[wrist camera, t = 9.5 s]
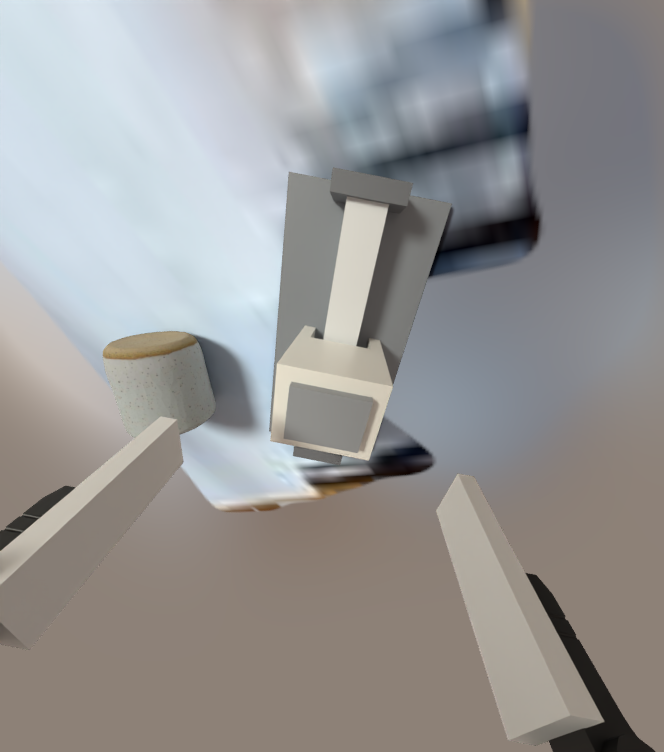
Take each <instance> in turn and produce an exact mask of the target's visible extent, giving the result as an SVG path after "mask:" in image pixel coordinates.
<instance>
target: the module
mask: <svg viewBox="0 0 664 752" xmlns="http://www.w3.org/2000/svg"><path fill="white" fill-rule="evenodd" d="M315 329H316V328H315V327H310V326H304V328H303V329H302V330H301V332H300V333H299V334H298V336H297V337H296V338H295V340H294V341H293V342H292V344H291V345H290V346H289V348H288V349H287V350H286V352H285V353H284V355H283V356H282V357H281V359H280V360H279V361H278V363H277V367H276V380H275V392H274V404H273V416H272V428H271V440H270V441H273V442H278V443H283V444H288V445H293V446H298V447H303V448H308V449H313V450H318V451H323V452H328V453H333V454H338V455H343V456H348V457H354V458H359V459H364V460H369V458H370V455H371V452H372V449H373V446H374V443H375V440H376V437H377V434H378V431H379V428H380V425H381V422H382V419H383V416H384V413H385V410H386V407H387V404H388V401H389V398H390V394H391V392H392V389H393V384H392V381H391V377H390V374H389V370H388V367H387V364H386V360H385V357H384V353H383V350H382V346H381V343H380V340H376V339H371V338H369V340H368V344H367V348H363V347H358V346H353V345H347V344H342V343H337V342H332V341H327V340H322V339H317V338H314V336H315Z"/></svg>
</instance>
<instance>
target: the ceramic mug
mask: <svg viewBox="0 0 664 752" xmlns="http://www.w3.org/2000/svg"><path fill="white" fill-rule="evenodd" d="M103 361H104V367H105V372H106V375H107V378H108V380H109V383H110V385H111V388H112V390H113V393H114V396H115V399H116V402H117V405H118V408H119V411H120V414H121V417H122V421H123V423H124V426H125V429H126V431H127V432H128V434H129V435H131V436H132V437H134V438H136V437H137V436H138V435H139V434H140V433H141V432H143V431H144V430H145V429H146V428H147V427H149V426H150V425H151V424H152V423H153V422H155V421H156V420H157V419H158V418H159V417H161V416H162V417H167V418H172V419H177V422H178V428H179V435H180V434H183V433H185V432H188V431H190V430H192V429H195V428H196V427H198V426H200V425H201V424H203V423H204V422H205V421H207V420H208V419H209V418H210V417H211V416H212V415H213V413H214V412H215V409H216V402H215V399H214V395H213V391H212V387H211V384H210V380H209V376H208V373H207V369H206V365H205V361H204V356H203V353H202V350H201V348H200V345H199V343H198V341H197V340H196V338H195V337H194V336H192V335H191V334H189V333H186V332H178V331H167V332H153V333H145V334H139V335H133V336H129V337H125V338H121V339H119V340H116V341H113V342H111V343H109V344H108V345H107V346H106V348H105V349H104V350H103Z"/></svg>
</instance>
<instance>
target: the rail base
mask: <svg viewBox="0 0 664 752" xmlns="http://www.w3.org/2000/svg"><path fill="white" fill-rule="evenodd" d="M412 185H413V183H410V182H405V181H400V180H395V179H390V178H385V177H379V176H374V175H369V174H364V173H359V172H354V171H349V170H343V169H338V168H333V171H332V178H331V180H328V179H323V178H318V177H313V176H308V175H303V174H298V173H292V172H289V177H288V190H287V203H286V216H285V230H284V243H283V256H282V269H281V282H280V296H279V309H278V322H277V335H276V349H275V362H274V375H273V388H272V401H271V415H270V428H269V431H271V428H272V416H273V404H274V392H275V380H276V367H277V363H278V361H279V360H280V359H281V357H282V356H283V355H284V353H285V352H286V350H287V349H288V348H289V346H290V345H291V344H292V342H293V341H294V340H295V338H296V337H297V336H298V334H299V333H300V332H301V330H302V329H303V328H304V326H310V327H315V328H316V329H315V336H314V338H317V339H322V340H327V341H332V342H337V343H342V344H347V345H353V346H358V347H363V348H367V344H368V340H369V338H371V339H376V340H380V343H381V346H382V350H383V353H384V357H385V360H386V364H387V367H388V370H389V374H390V377H391V381H392V384H393V383H394V380H395V377H396V374H397V371H398V367H399V364H400V362H401V358H402V355H403V352H404V349H405V346H406V343H407V340H408V337H409V334H410V331H411V328H412V325H413V322H414V319H415V315H416V312H417V309H418V306H419V303H420V300H421V297H422V294H423V291H424V288H425V285H426V282H427V279H428V276H429V273H430V270H431V266H432V263H433V260H434V257H435V254H436V251H437V248H438V245H439V242H440V239H441V236H442V233H443V230H444V227H445V223H446V220H447V217H448V214H449V211H450V208H451V205H452V204H451V203H446V202H441V201H436V200H431V199H426V198H421V197H415V196H410V193H411V189H412ZM293 456H296V457H301V458H306V459H311V460H316V461H321V462H327V463H332V464H337V465H340V463H341V459H342V455H338V454H333V453H328V452H323V451H318V450H313V449H308V448H303V447H298V446H294V453H293Z"/></svg>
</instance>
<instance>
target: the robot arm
mask: <svg viewBox="0 0 664 752" xmlns="http://www.w3.org/2000/svg"><path fill="white" fill-rule="evenodd" d="M182 464H183V456H182V449H181V442H180V435H179V428H178V422H177V419H172V418H167V417H162V416H161V417H159V418H158V419H157V420H156V421H155V422H153V423H152V424H151V425H150V426H149V427H147V428H146V429H145V430H144V431H143V432H141V433H140V434H139V435H138V436H137V437H136V438H134V439H133V440H132V441H131V442H130V443H128V444H127V445H126V446H125V447H124V448H122V449H121V450H120V451H119V452H118V453H117V454H115V455H114V456H113V457H112V458H111V459H109V460H108V461H107V462H106V463H105V464H103V465H102V466H101V467H100V468H99V469H98V470H96V471H95V472H94V473H93V474H92V475H90V476H89V477H88V478H87V479H86V480H84V481H83V482H82V483H81V484H80V485H78V486H77V487H76V488H75V487H69V486H64V487H62V488H60V489H59V490H57V491H55V492H53V493H51V494H49V495H47V496H45V497H44V498H42V499H41V500H40V501H38V502H37V503H36V504H35V505H33V506H32V507H31V508H29V509H28V510H27V511H26V512H24V513H23V515H22V516H21V517H18V518H17V519H15V520H14V521H13V522H12V523H10V524H9V525H8V526H7V527H6V529H5V530H1V531H0V644H1V645H5V646H11V647H16V648H22V649H26V650H30V649H31V648H32V647H33V645H34V644H35V643H36V642H37V641H38V639H39V638H40V637H41V636H42V634H43V633H44V632H45V631H46V630H47V628H48V627H49V626H50V625H51V623H52V622H53V621H54V620H55V618H56V617H57V616H58V615H59V613H60V612H61V611H62V610H63V609H64V608H65V606H66V605H67V604H68V603H69V601H70V600H71V599H72V598H73V597H74V595H75V594H76V593H77V592H78V590H79V589H80V588H81V587H82V586H83V584H84V583H85V582H86V581H87V579H88V578H89V577H90V576H91V574H92V573H93V572H94V571H95V570H96V568H97V567H98V566H99V565H100V564H101V562H102V561H103V560H104V558H105V557H106V556H107V555H108V554H109V553H110V551H111V550H112V549H113V548H114V546H115V545H116V544H117V543H118V542H119V540H120V539H121V538H122V537H123V535H124V534H125V533H126V532H127V530H128V529H129V528H130V527H131V526H132V525H133V523H134V522H135V521H136V520H137V518H138V517H139V516H140V515H141V514H142V512H143V511H144V510H145V509H146V507H147V506H148V505H149V504H150V502H151V501H152V500H153V499H154V498H155V497H156V495H157V494H158V493H159V492H160V490H161V489H162V488H163V487H164V486H165V484H166V483H167V482H168V481H169V479H170V478H171V477H172V476H173V475H174V473H175V472H176V471H177V470H178V468H179V467H180V466H181V465H182ZM436 513H437V516H438V519H439V522H440V525H441V529H442V531H443V535H444V538H445V541H446V544H447V548H448V551H449V554H450V557H451V560H452V564H453V566H454V570H455V573H456V576H457V579H458V583H459V586H460V589H461V592H462V596H463V599H464V602H465V605H466V608H467V611H468V614H469V618H470V621H471V624H472V627H473V631H474V634H475V637H476V640H477V643H478V646H479V649H480V653H481V656H482V659H483V662H484V666H485V669H486V671H487V675H488V678H489V681H490V685H491V688H492V691H493V694H494V697H495V700H496V704H497V707H498V710H499V713H500V717H501V720H502V722H503V726H504V729H505V732H506V736H507V739H508V741H514V742H520V743H524V744H529V745H535V746H536V745H539V744H542V743H545V742H548V741H549V742H550V745H551V748H552V750H553V752H655V751H654V750H653V749H652V748H651V747H649V746H648V745H647V744H645V743H644V742H643V741H642V740H640V739H639V738H638V737H637V736H636V734H635V733H634V732H633V730H632V729H631V728H630V726H629V724H628V723H627V721H626V720H625V718H624V717H623V715H622V713H621V712H620V710H619V708H618V707H617V705H616V703H615V701H614V700H613V698H612V696H611V694H610V693H609V691H608V689H607V688H606V686H605V684H604V682H603V681H602V679H601V677H600V676H599V674H598V672H597V670H596V668H595V667H594V665H593V663H592V662H591V660H590V658H589V656H588V655H587V653H586V651H585V649H584V648H583V646H582V644H581V643H580V641H579V640H578V639H577V638H576V634H575V632H574V630H573V629H572V627H571V625H570V624H569V622H568V621H567V620H566V619H565V615H564V613H563V611H562V610H561V608H560V606H559V605H558V603H557V601H556V600H555V598H554V596H553V594H552V593H551V592H550V591H549V590H548V588H547V587H546V586H545V585H544V584H543V582H542V581H541V580H540V579H539V578H538V577H537V575H533V574H528V573H525V572H524V570H523V568H522V566H521V564H520V562H519V560H518V558H517V557H516V555H515V553H514V551H513V549H512V547H511V545H510V543H509V542H508V540H507V538H506V536H505V534H504V532H503V530H502V528H501V526H500V525H499V523H498V521H497V519H496V517H495V515H494V513H493V511H492V510H491V508H490V506H489V504H488V502H487V500H486V498H485V497H484V495H483V493H482V491H481V489H480V487H479V485H478V483H477V481H476V480H475V478H474V477H473V476H468V475H463V474H457V475H456V477H455V479H454V481H453V482H452V484H451V486H450V488H449V489H448V491H447V493H446V494H445V496H444V498H443V500H442V502H441V503H440V505H439V506H438V508H437V510H436Z"/></svg>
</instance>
